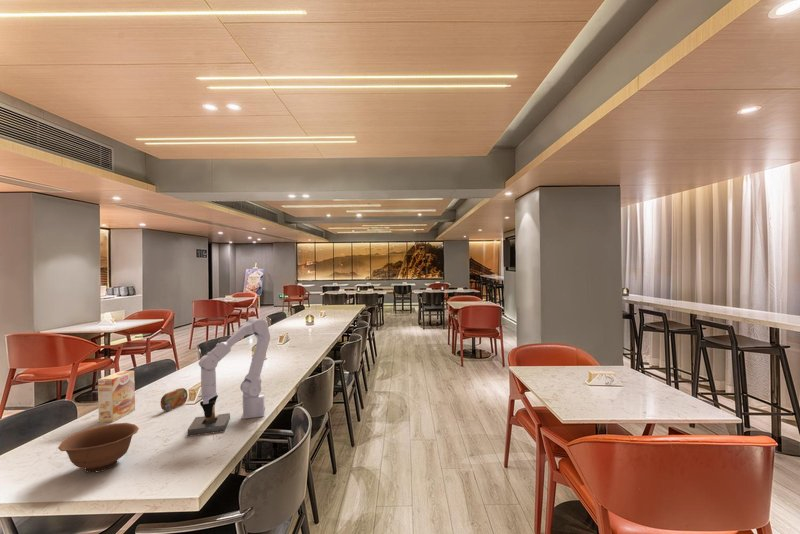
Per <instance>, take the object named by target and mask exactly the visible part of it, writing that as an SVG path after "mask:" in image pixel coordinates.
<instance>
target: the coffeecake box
mask: <svg viewBox="0 0 800 534" xmlns="http://www.w3.org/2000/svg"><path fill="white" fill-rule="evenodd" d="M135 385H136V384H135V370H120V371H118V372H114V373H112V374H110V375H109V374H108V375H106V376H103V377H101V378H98V379H97V396H98V404H97V405H98V423H114V422H116V421H118V420H119V418H120V419H121V418H123V417H124V416H127V415H129V414H130V412H131V413H133V412H134V411H136V396H135V394H136V393H135V392H136V389H135V387H136V386H135ZM133 410H134V411H133ZM128 413H129V414H128ZM126 414H127V415H126Z"/></svg>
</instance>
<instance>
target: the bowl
mask: <svg viewBox="0 0 800 534" xmlns="http://www.w3.org/2000/svg"><path fill="white" fill-rule="evenodd" d="M139 430H140V429H139V427H138V426H137V425H136V424H135V423H129V422H119V423H118V422H117V423H110V424H104V425H99V426H95V427H91V428H88V429H87V428H86V429H84V430H81V431H79V432H76V433H74V434H71V435H70V436H68V437H66V438H65V439H63V440H62V441H61V443H60V445H59V446H58V447H57V449H58V450H59V451H60V452H66V454H67V457H68V458H69V461H70V462H71V463H72V464H73V465H74V466H75V467H77V468H82V469H84V471H85V470H86V471H88V472H87V473H89V472H94V473H97V472H96V471H100V472H103V471H106V470H109V469H111V468H112V467H113V468H114V466H116V464H118V461H119V460H120V459H121V458H123V456H125V455H126V454H127V452H128V451H129V447H130V446H131V441H132V438H133V436H134V435H136V434H137V433H138V431H139ZM85 468H86V469H85ZM102 470H103V471H102ZM86 471H85V472H86Z"/></svg>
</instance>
